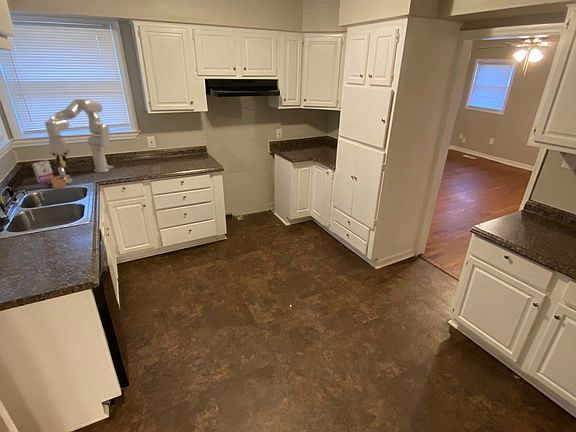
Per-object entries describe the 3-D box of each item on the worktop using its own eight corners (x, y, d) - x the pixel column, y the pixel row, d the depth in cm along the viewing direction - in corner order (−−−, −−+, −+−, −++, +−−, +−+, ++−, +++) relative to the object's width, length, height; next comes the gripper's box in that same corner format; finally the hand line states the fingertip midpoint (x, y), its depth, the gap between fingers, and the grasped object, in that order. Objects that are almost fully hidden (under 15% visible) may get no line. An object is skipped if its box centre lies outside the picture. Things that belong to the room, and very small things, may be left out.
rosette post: (73, 179, 264) (69, 165, 259) (67, 187, 248) (62, 172, 243) (59, 180, 261) (55, 166, 256) (52, 188, 245) (47, 173, 240)
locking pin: (66, 166, 249) (63, 153, 245) (65, 167, 246) (62, 154, 242) (62, 166, 248) (58, 154, 244) (61, 167, 245) (57, 155, 241)
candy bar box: (52, 179, 264) (46, 160, 257) (55, 180, 262) (49, 161, 255) (37, 182, 256) (31, 163, 249) (40, 183, 253) (34, 164, 246)
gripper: (69, 136, 244) (75, 159, 251) (43, 137, 238) (51, 160, 246) (66, 138, 237) (73, 161, 245) (40, 139, 232) (48, 163, 239)
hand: (62, 161), depth 245 cm, fingers closed on locking pin, 3 cm apart
